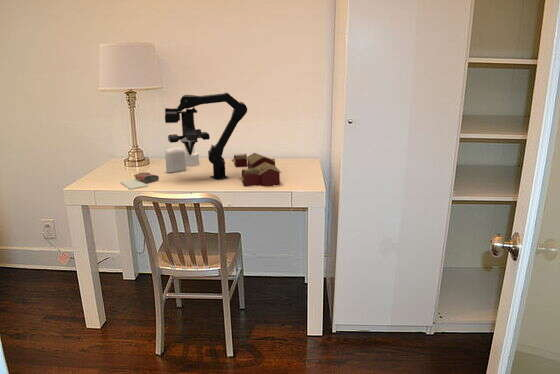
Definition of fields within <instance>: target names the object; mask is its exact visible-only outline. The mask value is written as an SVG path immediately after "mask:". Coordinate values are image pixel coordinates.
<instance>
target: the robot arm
mask: <svg viewBox="0 0 560 374" xmlns="http://www.w3.org/2000/svg"><path fill="white" fill-rule="evenodd" d="M179 102H180V103H179V105H177V107H176V108H175V107H174V108H173V107H172V108H168V107H166V108H165V109H164V122H165V124H177V123H178V122H180V121H181V129H182V130H181V131H182V133H181V134H182V135H178V134H176V133H175V134H169V135H168V136H167V141H168V142H169V143H171V144H172V143H178V142H181V143H182V144H183V145H184V148H185V147H186V149H187V151H188V153H189V155H191V154H192V150H193V147H194V148H195V145H196V143H198V142H199V141H198V139H201V140H204V141H205V140H210V138H211V137H210V134H209V133H208V132H207V131H202V129H200V128H198V129H196V125H195V115H194V114H197V113H198V110H197V109H196V108H195V107H197V106H200V105H206V104H207V105H209V104H216V103H217V104H218V103H227V105H228V106H230V107H232V108H233V109H232V113H231V117H230V119H229V121H228V122H227V124H226V126H225V128H224V130H223V131H222V133H221V135H220V138H219V139H218V141H217V142H216V144H215V145H213V144H211V146H210V149H209V150H208V151H207V156H208V157H207V158H208V161H209V163H210V164H212V171H213V172H212V174H213V175H210V178H212V179H214V180H215V181H216V180H223V179H228V178H229V176H228V175H226V161H225V158H224V157H223V153H224V149H225V147H226V145H227V143H228V142H229V140H230V138H231V136H232V134H233V133H234V131H235V129H236V127H237V125H238V123H239V122H240V121H241V120H242V119H243V118H244V117H245V116H246V114H247V113H248V107H247V105H246V103H244V102H242V101H238V100H237V98H235V97H233V96H232V95H231V94H230V93H229V92H224V93H216V94H214V93H213V94H205V95H196V94H195V95H194V94H184V95H182V96H181V98H180V100H179Z"/></svg>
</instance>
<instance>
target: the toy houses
mask: <svg viewBox="0 0 560 374" xmlns="http://www.w3.org/2000/svg"><path fill="white" fill-rule="evenodd" d="M275 160H276V159H275V158H270V157H266V156H264V155H262V154H260V153H256V152H253V153H251V154H250V155H247V153H237V154H236V153H235V154H234V156H233V158H232V159H231V162H232V163H233V165H234V166H235V168H242V170H241V176H240V177H238V179H239V181H241V183H243V184H242V185H243V187H244V186H245V187H254V186H253V185H257V186H261V187H262V186H267V187H274V186H273V185H279V186H280V185H281V183H280V180H281V178H280V174H282V171H280V169H279V168H278V167H277V166H276V161H275Z"/></svg>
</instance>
